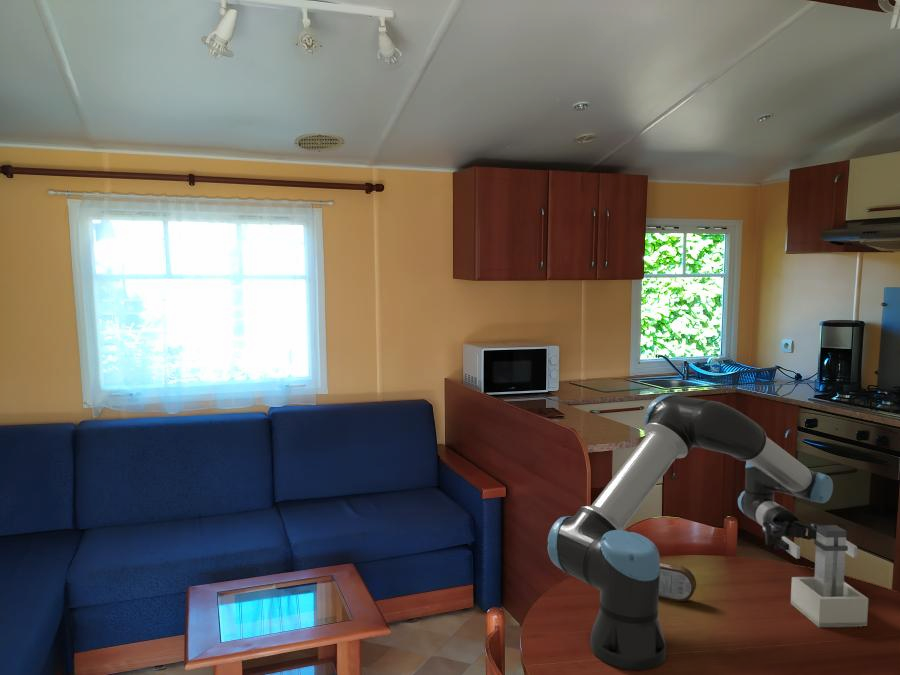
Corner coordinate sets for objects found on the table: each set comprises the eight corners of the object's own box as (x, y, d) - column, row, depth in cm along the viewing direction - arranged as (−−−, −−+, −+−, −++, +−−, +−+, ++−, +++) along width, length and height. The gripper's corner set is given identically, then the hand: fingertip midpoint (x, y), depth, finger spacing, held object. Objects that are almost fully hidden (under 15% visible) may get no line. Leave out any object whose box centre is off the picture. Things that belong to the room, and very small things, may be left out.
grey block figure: (822, 615, 146) (827, 532, 145) (810, 605, 151) (814, 524, 149) (845, 615, 146) (849, 531, 145) (831, 605, 151) (835, 524, 150)
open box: (818, 627, 143) (820, 599, 142) (790, 603, 154) (791, 577, 153) (866, 626, 143) (868, 598, 143) (835, 602, 154) (836, 576, 154)
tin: (695, 600, 155) (696, 566, 154) (694, 606, 152) (695, 572, 152) (632, 587, 162) (633, 554, 161) (629, 592, 159) (630, 559, 158)
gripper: (822, 533, 172) (878, 567, 150) (730, 534, 171) (773, 568, 149) (824, 506, 171) (880, 536, 150) (731, 506, 170) (775, 537, 149)
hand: (827, 552), depth 150 cm, fingers open, 13 cm apart
